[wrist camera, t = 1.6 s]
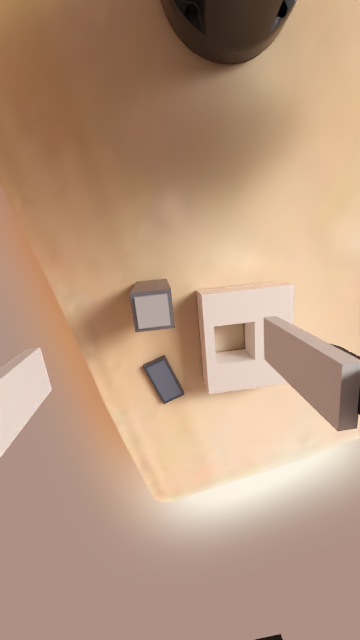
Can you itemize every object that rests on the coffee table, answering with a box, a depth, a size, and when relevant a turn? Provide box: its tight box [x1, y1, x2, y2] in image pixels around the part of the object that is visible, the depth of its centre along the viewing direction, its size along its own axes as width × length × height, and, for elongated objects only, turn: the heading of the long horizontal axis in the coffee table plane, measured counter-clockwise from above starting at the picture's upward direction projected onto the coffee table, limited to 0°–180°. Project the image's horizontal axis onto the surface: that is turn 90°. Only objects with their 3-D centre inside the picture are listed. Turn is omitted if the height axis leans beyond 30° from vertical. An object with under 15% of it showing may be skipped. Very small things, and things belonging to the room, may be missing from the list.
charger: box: [130, 279, 175, 332], centre depth 30 cm, size 4×4×10 cm
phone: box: [143, 355, 184, 404], centre depth 38 cm, size 7×4×1 cm, turn 25°
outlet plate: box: [197, 281, 295, 394], centre depth 35 cm, size 14×12×4 cm
